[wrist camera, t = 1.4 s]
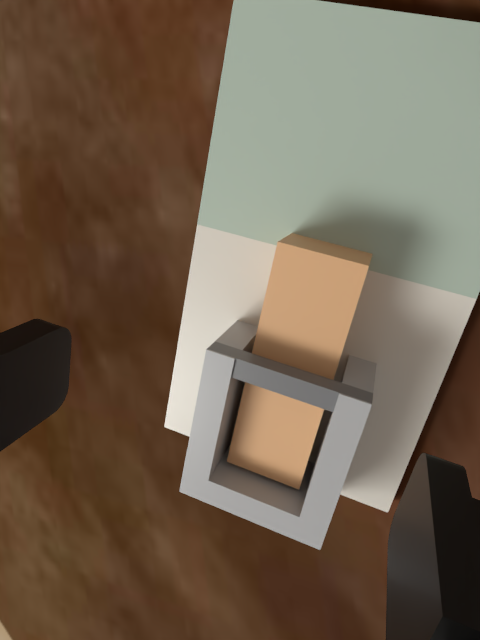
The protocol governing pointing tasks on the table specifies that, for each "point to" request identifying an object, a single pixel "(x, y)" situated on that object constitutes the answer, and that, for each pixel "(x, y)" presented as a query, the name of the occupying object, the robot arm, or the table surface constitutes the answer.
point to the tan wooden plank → (297, 351)
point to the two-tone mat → (334, 227)
